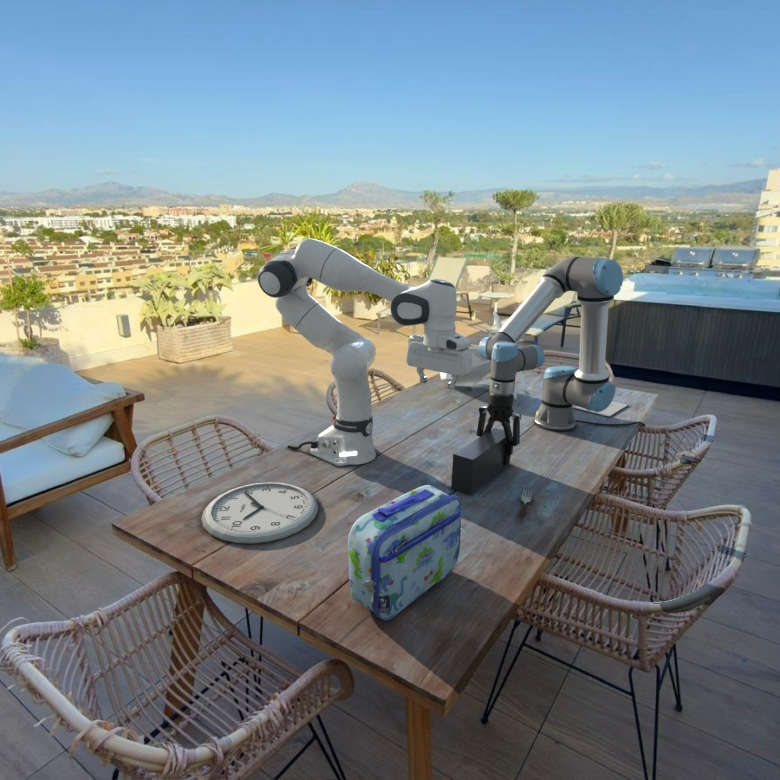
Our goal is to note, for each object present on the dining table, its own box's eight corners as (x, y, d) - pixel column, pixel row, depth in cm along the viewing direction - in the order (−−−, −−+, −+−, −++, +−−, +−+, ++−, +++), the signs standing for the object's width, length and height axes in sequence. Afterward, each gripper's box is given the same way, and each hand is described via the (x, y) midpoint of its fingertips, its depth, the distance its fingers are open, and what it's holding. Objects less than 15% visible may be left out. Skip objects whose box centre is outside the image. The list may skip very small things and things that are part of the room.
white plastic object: (461, 429, 252) (437, 405, 227) (444, 352, 274) (420, 323, 250) (535, 404, 240) (518, 377, 215) (510, 326, 262) (492, 293, 237)
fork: (515, 521, 136) (516, 514, 135) (522, 493, 150) (523, 487, 150) (525, 523, 135) (526, 516, 135) (531, 495, 150) (532, 489, 149)
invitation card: (608, 416, 214) (573, 407, 224) (608, 416, 214) (573, 408, 224) (628, 404, 229) (594, 396, 238) (628, 405, 229) (594, 397, 238)
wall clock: (315, 535, 126) (186, 539, 123) (315, 541, 126) (187, 545, 123) (320, 478, 154) (216, 480, 152) (320, 483, 155) (216, 485, 152)
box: (491, 458, 173) (494, 427, 170) (509, 464, 170) (512, 432, 167) (451, 488, 153) (453, 453, 150) (470, 495, 149) (472, 459, 146)
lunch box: (378, 635, 98) (379, 537, 91) (341, 606, 105) (340, 513, 99) (464, 574, 115) (470, 488, 109) (427, 553, 122) (431, 471, 116)
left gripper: (402, 335, 150) (401, 381, 154) (465, 345, 139) (462, 395, 143) (414, 332, 155) (413, 376, 159) (476, 341, 143) (473, 389, 148)
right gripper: (467, 389, 164) (463, 456, 171) (526, 402, 153) (519, 473, 160) (479, 384, 170) (474, 449, 177) (536, 396, 159) (529, 465, 166)
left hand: (437, 385), depth 151 cm, fingers open, 8 cm apart
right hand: (495, 460), depth 168 cm, fingers closed on box, 6 cm apart
